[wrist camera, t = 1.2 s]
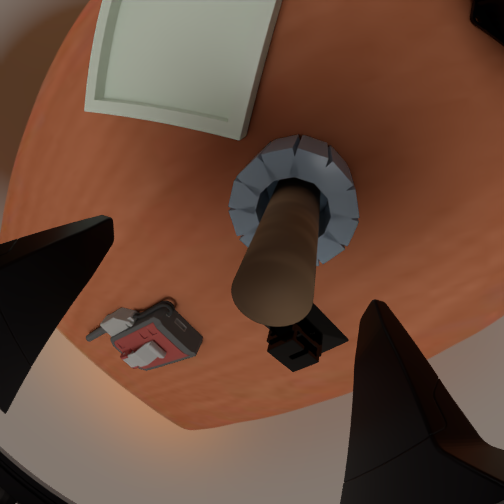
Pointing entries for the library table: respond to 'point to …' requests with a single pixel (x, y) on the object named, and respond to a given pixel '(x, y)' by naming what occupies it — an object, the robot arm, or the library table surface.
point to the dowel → (281, 257)
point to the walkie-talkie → (150, 336)
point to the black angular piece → (304, 340)
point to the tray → (181, 61)
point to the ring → (306, 168)
